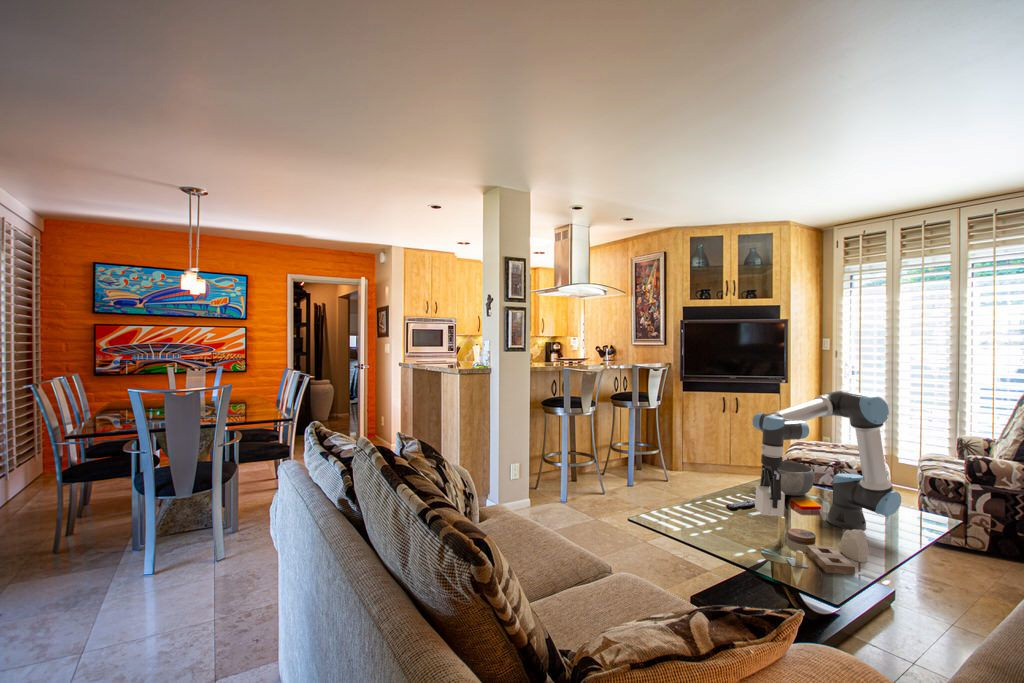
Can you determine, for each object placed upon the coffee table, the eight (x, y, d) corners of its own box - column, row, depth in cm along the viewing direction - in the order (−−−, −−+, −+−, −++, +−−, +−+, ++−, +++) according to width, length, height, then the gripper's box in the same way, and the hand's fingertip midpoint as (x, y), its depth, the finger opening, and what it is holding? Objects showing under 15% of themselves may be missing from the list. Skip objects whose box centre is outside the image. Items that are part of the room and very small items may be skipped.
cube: (775, 508, 204) (776, 487, 203) (783, 516, 196) (784, 493, 195) (755, 507, 205) (756, 485, 204) (762, 514, 197) (763, 492, 196)
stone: (837, 552, 202) (838, 524, 202) (846, 551, 204) (848, 523, 204) (862, 564, 193) (863, 535, 192) (871, 562, 194) (873, 533, 194)
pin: (782, 544, 209) (784, 516, 208) (785, 547, 206) (786, 518, 206) (776, 543, 209) (777, 515, 209) (778, 546, 207) (779, 518, 206)
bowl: (771, 498, 263) (772, 470, 262) (756, 483, 287) (757, 458, 286) (821, 502, 259) (823, 474, 258) (802, 487, 283) (804, 461, 282)
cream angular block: (801, 561, 194) (802, 547, 194) (808, 568, 189) (809, 554, 189) (786, 559, 195) (787, 546, 195) (792, 566, 190) (793, 552, 189)
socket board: (806, 552, 202) (806, 545, 202) (833, 554, 200) (833, 547, 200) (825, 572, 186) (826, 564, 186) (854, 574, 185) (855, 566, 184)
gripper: (753, 448, 210) (750, 501, 211) (772, 461, 189) (769, 520, 190) (772, 449, 209) (769, 502, 210) (793, 463, 188) (790, 522, 189)
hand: (769, 511), depth 200 cm, fingers closed on cube, 8 cm apart
